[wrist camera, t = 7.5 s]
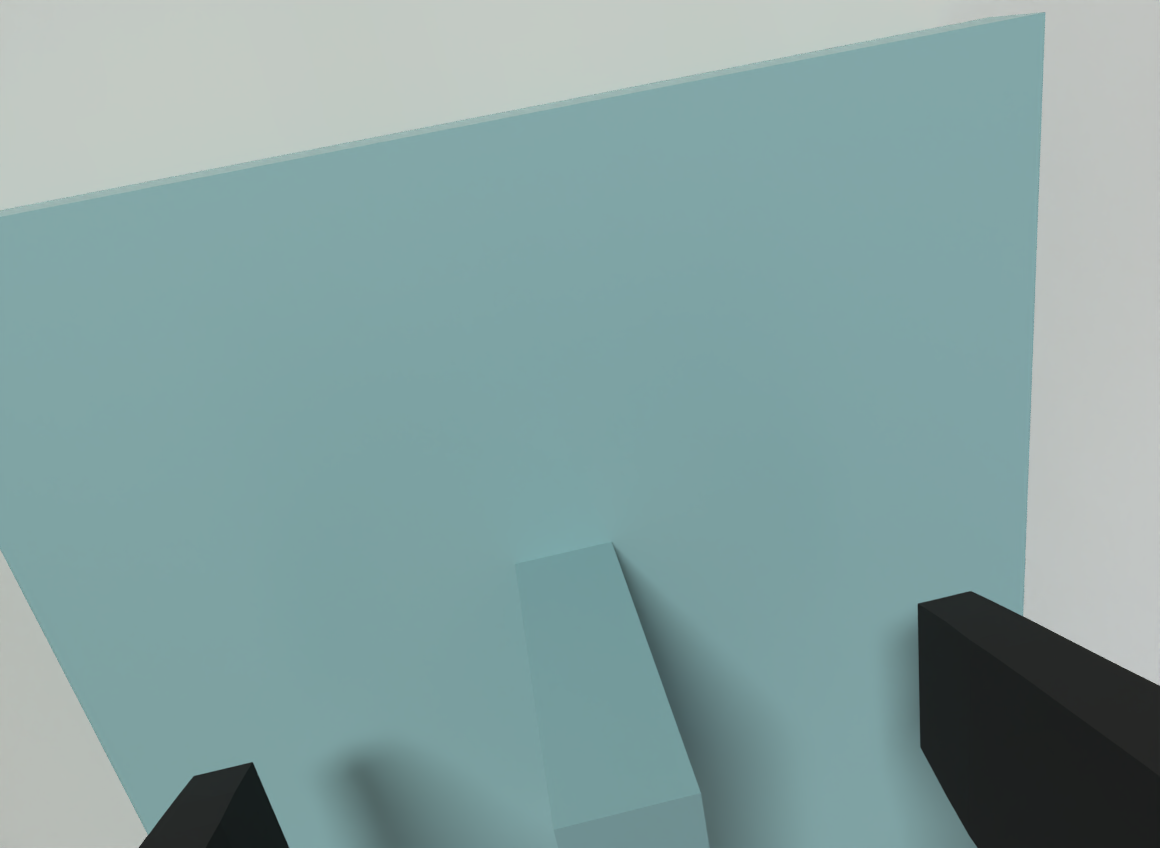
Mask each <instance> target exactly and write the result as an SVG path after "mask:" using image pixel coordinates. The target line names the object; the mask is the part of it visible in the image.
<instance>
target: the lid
mask: <svg viewBox="0 0 1160 848" xmlns="http://www.w3.org/2000/svg"><path fill="white" fill-rule="evenodd" d="M1044 32H1045V12H1042V13H1031V14H1020V15H1010V16H999V17H989V18H983V19H978V20H973V21H968V22H963V23H958V24H953V25H948V26H943V27H937V28H932V29H927V30H922V31H917V32H912V33H907V34H902V35H896V36H891V37H886V38H881V39H876V40H871V41H866V42H861V43H855V44H850V45H845V46H840V47H835V48H830V49H825V50H820V51H815V52H809V53H804V54H799V55H794V56H789V57H784V58H779V59H774V60H768V61H763V62H758V63H753V64H748V65H743V66H738V67H733V68H727V69H722V70H717V71H712V72H707V73H702V74H697V75H692V76H687V77H681V78H676V79H671V80H666V81H661V82H656V83H651V84H646V85H640V86H635V87H630V88H625V89H620V90H615V91H610V92H605V93H599V94H594V95H589V96H584V97H579V98H574V99H569V100H564V101H559V102H553V103H548V104H543V105H538V106H533V107H528V108H523V109H518V110H512V111H507V112H502V113H497V114H492V115H487V116H482V117H477V118H471V119H466V120H461V121H456V122H451V123H446V124H441V125H436V126H431V127H425V128H420V129H415V130H410V131H405V132H400V133H395V134H390V135H384V136H379V137H374V138H369V139H364V140H359V141H354V142H349V143H343V144H338V145H333V146H328V147H323V148H318V149H313V150H308V151H303V152H297V153H292V154H287V155H282V156H277V157H272V158H267V159H262V160H256V161H251V162H246V163H241V164H236V165H231V166H226V167H221V168H215V169H210V170H205V171H200V172H195V173H190V174H185V175H180V176H175V177H169V178H164V179H159V180H154V181H149V182H144V183H139V184H134V185H128V186H123V187H118V188H113V189H108V190H103V191H98V192H93V193H87V194H82V195H77V196H72V197H67V198H62V199H57V200H52V201H47V202H41V203H36V204H31V205H26V206H21V207H16V208H11V209H6V210H0V549H1V551H2V553H3V555H4V557H5V559H6V561H7V563H8V565H9V567H10V569H11V571H12V573H13V575H14V577H15V578H16V580H17V582H18V584H19V586H20V588H21V590H22V592H23V594H24V596H25V598H26V600H27V602H28V604H29V606H30V607H31V609H32V611H33V613H34V615H35V617H36V619H37V621H38V623H39V625H40V627H41V629H42V631H43V633H44V635H45V636H46V638H47V640H48V642H49V644H50V646H51V648H52V650H53V652H54V654H55V656H56V658H57V660H58V662H59V664H60V665H61V667H62V669H63V671H64V673H65V675H66V677H67V679H68V681H69V683H70V685H71V687H72V689H73V691H74V693H75V694H76V696H77V698H78V700H79V702H80V704H81V706H82V708H83V710H84V712H85V714H86V716H87V718H88V720H89V722H90V723H91V725H92V727H93V729H94V731H95V733H96V735H97V737H98V739H99V741H100V743H101V745H102V747H103V749H104V751H105V752H106V754H107V756H108V758H109V760H110V762H111V764H112V766H113V768H114V770H115V772H116V774H117V776H118V778H119V780H120V781H121V783H122V785H123V787H124V789H125V791H126V793H127V795H128V797H129V799H130V801H131V803H132V805H133V807H134V809H135V810H136V812H137V814H138V816H139V818H140V820H141V822H142V824H143V826H144V828H145V830H146V832H147V834H148V835H149V833H150V832H151V831H152V829H153V828H154V827H155V825H156V824H157V823H158V821H159V820H160V819H161V817H162V816H163V815H164V813H165V812H166V811H167V809H168V808H169V807H170V805H171V804H172V803H173V801H174V800H175V799H176V798H177V796H178V795H179V794H180V792H181V791H182V790H183V789H184V787H185V786H186V785H187V784H188V782H189V781H190V780H191V779H192V777H193V776H196V775H200V774H204V773H208V772H213V771H217V770H221V769H225V768H229V767H234V766H238V765H242V764H246V763H250V762H253V764H254V766H255V768H256V771H257V773H258V775H259V778H260V780H261V782H262V785H263V787H264V790H265V792H266V794H267V797H268V799H269V801H270V804H271V806H272V808H273V811H274V813H275V815H276V818H277V820H278V822H279V825H280V827H281V829H282V832H283V834H284V836H285V839H286V841H287V844H288V846H289V848H977V846H976V845H975V843H974V842H973V841H972V839H971V838H970V836H969V835H968V833H967V831H966V829H965V828H964V826H963V824H962V822H961V821H960V819H959V817H958V815H957V814H956V812H955V810H954V808H953V807H952V805H951V803H950V801H949V800H948V798H947V796H946V794H945V792H944V791H943V789H942V787H941V785H940V783H939V781H938V779H937V777H936V776H935V774H934V772H933V770H932V768H931V766H930V764H929V762H928V761H927V759H926V757H925V755H924V753H923V751H922V749H921V748H920V708H919V655H918V603H922V602H927V601H931V600H935V599H939V598H943V597H948V596H952V595H956V594H960V593H964V592H969V591H972V592H974V593H976V594H979V595H981V596H983V597H985V598H987V599H989V600H991V601H993V602H995V603H997V604H999V605H1001V606H1003V607H1005V608H1007V609H1009V610H1011V611H1013V612H1015V613H1017V614H1019V615H1021V616H1023V603H1024V576H1025V548H1026V521H1027V494H1028V467H1029V440H1030V413H1031V385H1032V358H1033V331H1034V304H1035V277H1036V250H1037V222H1038V195H1039V168H1040V141H1041V114H1042V87H1043V60H1044Z"/></svg>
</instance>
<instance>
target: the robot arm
mask: <svg viewBox="0 0 1160 848" xmlns="http://www.w3.org/2000/svg"><path fill="white" fill-rule="evenodd" d="M918 655H919V708H920V748H921V749H922V751H923V753H924V755H925V757H926V759H927V761H928V762H929V764H930V766H931V768H932V770H933V772H934V774H935V776H936V777H937V779H938V781H939V783H940V785H941V787H942V789H943V791H944V792H945V794H946V796H947V798H948V800H949V801H950V803H951V805H952V807H953V808H954V810H955V812H956V814H957V815H958V817H959V819H960V821H961V822H962V824H963V826H964V828H965V829H966V831H967V833H968V835H969V836H970V838H971V839H972V841H973V842H974V843H975V845H976V846H977V848H1160V686H1159V685H1157V684H1155V683H1153V682H1151V681H1149V680H1147V679H1145V678H1143V677H1141V676H1139V675H1137V674H1135V673H1133V672H1131V671H1129V670H1127V669H1125V668H1123V667H1121V666H1119V665H1117V664H1115V663H1113V662H1111V661H1109V660H1107V659H1105V658H1103V657H1101V656H1099V655H1097V654H1095V653H1093V652H1091V651H1089V650H1087V649H1085V648H1083V647H1082V646H1080V645H1078V644H1076V643H1074V642H1072V641H1070V640H1068V639H1066V638H1064V637H1062V636H1060V635H1058V634H1056V633H1054V632H1052V631H1050V630H1048V629H1047V628H1045V627H1043V626H1041V625H1039V624H1037V623H1035V622H1033V621H1031V620H1029V619H1027V618H1025V617H1023V616H1021V615H1019V614H1017V613H1015V612H1013V611H1011V610H1009V609H1007V608H1005V607H1003V606H1001V605H999V604H997V603H995V602H993V601H991V600H989V599H987V598H985V597H983V596H981V595H979V594H976V593H974V592H972V591H969V592H964V593H960V594H956V595H952V596H948V597H943V598H939V599H935V600H931V601H927V602H922V603H918ZM139 848H289V846H288V844H287V841H286V839H285V836H284V834H283V832H282V829H281V827H280V825H279V822H278V820H277V818H276V815H275V813H274V811H273V808H272V806H271V804H270V801H269V799H268V797H267V794H266V792H265V790H264V787H263V785H262V782H261V780H260V778H259V775H258V773H257V771H256V768H255V766H254V764H253V762H250V763H246V764H242V765H238V766H234V767H229V768H225V769H221V770H217V771H213V772H208V773H204V774H200V775H196V776H193V777H192V779H191V780H190V781H189V782H188V784H187V785H186V786H185V787H184V789H183V790H182V791H181V792H180V794H179V795H178V796H177V798H176V799H175V800H174V801H173V803H172V804H171V805H170V807H169V808H168V809H167V811H166V812H165V813H164V815H163V816H162V817H161V819H160V820H159V821H158V823H157V824H156V825H155V827H154V828H153V829H152V831H151V832H150V833H149V835H148V836H147V837H146V839H145V840H144V841H143V843H142V844H141V845H140V847H139Z"/></svg>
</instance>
